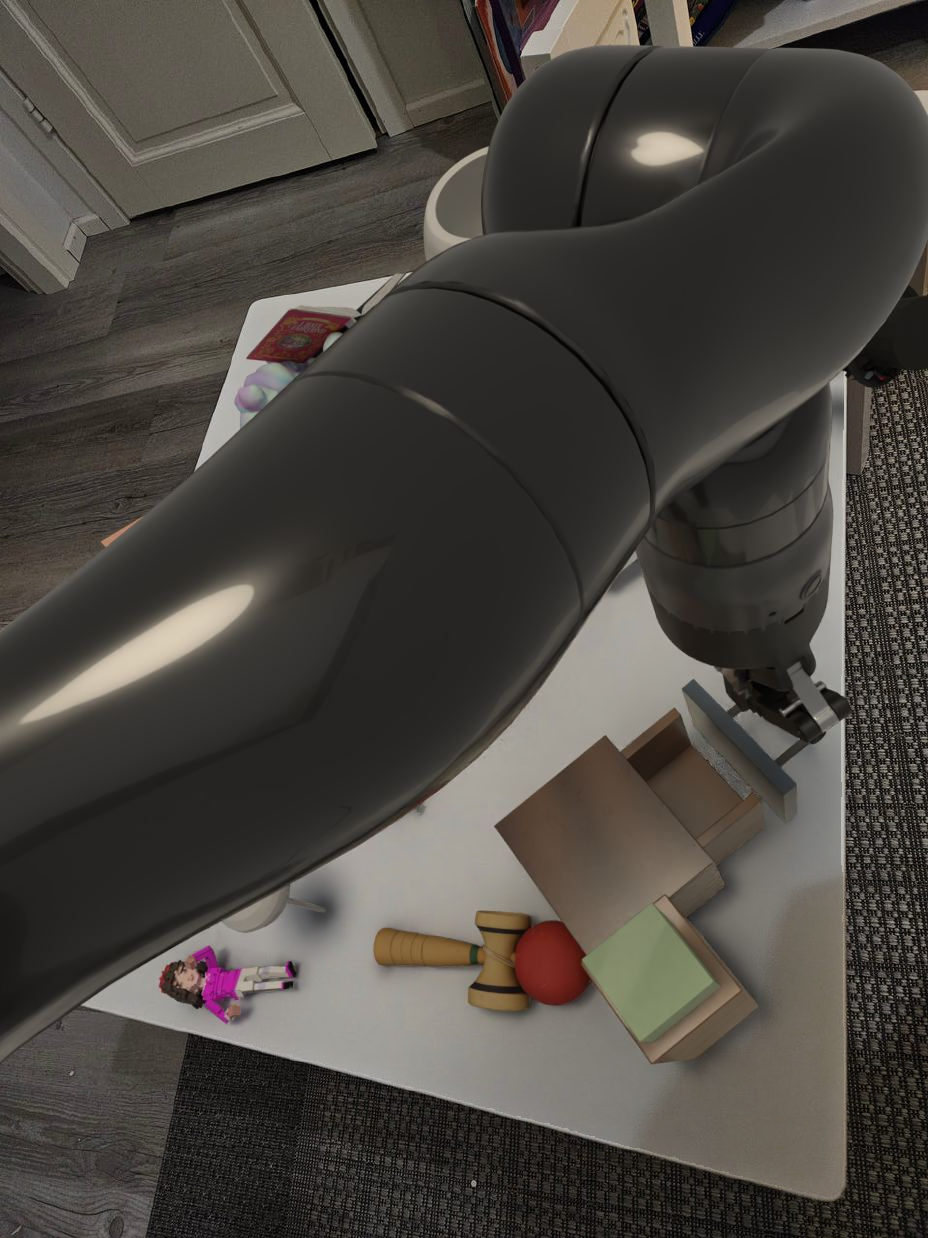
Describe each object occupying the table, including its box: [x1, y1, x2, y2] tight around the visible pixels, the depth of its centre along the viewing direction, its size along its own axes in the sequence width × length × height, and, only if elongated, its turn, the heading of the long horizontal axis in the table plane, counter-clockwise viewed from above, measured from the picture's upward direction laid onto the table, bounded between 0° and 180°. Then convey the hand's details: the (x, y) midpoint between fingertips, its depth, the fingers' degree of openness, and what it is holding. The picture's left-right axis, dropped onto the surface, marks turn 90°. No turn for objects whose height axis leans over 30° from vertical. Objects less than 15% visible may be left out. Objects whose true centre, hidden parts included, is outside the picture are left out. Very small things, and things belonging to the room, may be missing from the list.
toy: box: [841, 284, 928, 389], centre depth 79 cm, size 16×14×28 cm
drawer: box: [619, 678, 827, 867], centre depth 66 cm, size 14×10×9 cm
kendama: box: [372, 910, 592, 1012], centre depth 68 cm, size 8×6×18 cm
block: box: [582, 903, 721, 1042], centre depth 44 cm, size 4×4×4 cm
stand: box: [581, 894, 759, 1065], centre depth 55 cm, size 6×6×22 cm
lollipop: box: [221, 884, 327, 934], centre depth 70 cm, size 6×6×15 cm
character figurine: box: [158, 945, 298, 1025], centre depth 74 cm, size 6×5×12 cm
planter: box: [423, 145, 489, 262], centre depth 85 cm, size 16×16×22 cm
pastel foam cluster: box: [234, 269, 410, 430], centre depth 95 cm, size 20×22×18 cm
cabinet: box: [493, 735, 726, 955], centre depth 65 cm, size 11×12×11 cm
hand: (750, 694), depth 50 cm, fingers closed
